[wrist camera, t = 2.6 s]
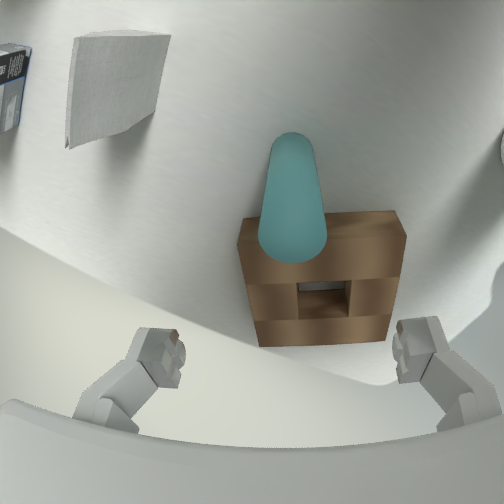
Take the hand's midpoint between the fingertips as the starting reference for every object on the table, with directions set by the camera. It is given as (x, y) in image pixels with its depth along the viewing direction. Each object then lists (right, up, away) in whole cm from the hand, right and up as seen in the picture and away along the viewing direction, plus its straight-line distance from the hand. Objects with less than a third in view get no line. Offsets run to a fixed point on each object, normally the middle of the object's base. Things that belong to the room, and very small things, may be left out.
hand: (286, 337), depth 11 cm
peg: (+2, +11, +14) cm, 18 cm away
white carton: (-10, +18, +11) cm, 23 cm away
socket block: (+6, +1, +21) cm, 22 cm away
